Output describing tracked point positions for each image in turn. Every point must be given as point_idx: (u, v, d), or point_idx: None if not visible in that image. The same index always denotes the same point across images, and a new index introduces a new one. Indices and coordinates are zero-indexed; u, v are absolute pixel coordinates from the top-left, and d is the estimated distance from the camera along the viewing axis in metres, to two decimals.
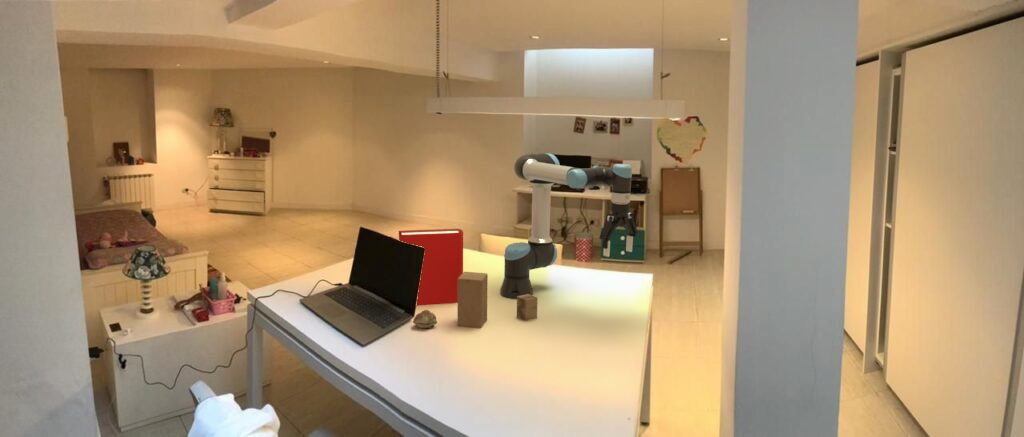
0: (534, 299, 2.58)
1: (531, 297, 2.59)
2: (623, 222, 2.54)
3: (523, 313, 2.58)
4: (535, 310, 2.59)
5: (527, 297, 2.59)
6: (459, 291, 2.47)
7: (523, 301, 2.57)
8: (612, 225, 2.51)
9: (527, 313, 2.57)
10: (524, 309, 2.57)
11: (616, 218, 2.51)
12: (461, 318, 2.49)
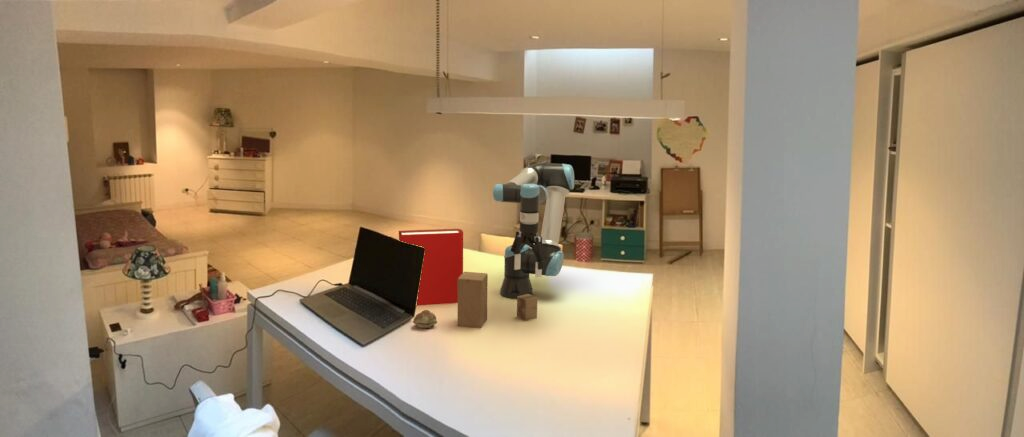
0: (535, 299, 2.58)
1: (531, 297, 2.59)
2: (528, 242, 2.53)
3: (523, 313, 2.58)
4: (535, 310, 2.59)
5: (527, 297, 2.59)
6: (459, 291, 2.47)
7: (523, 301, 2.57)
8: None
9: (527, 313, 2.57)
10: (524, 309, 2.57)
11: (521, 235, 2.56)
12: (461, 317, 2.49)
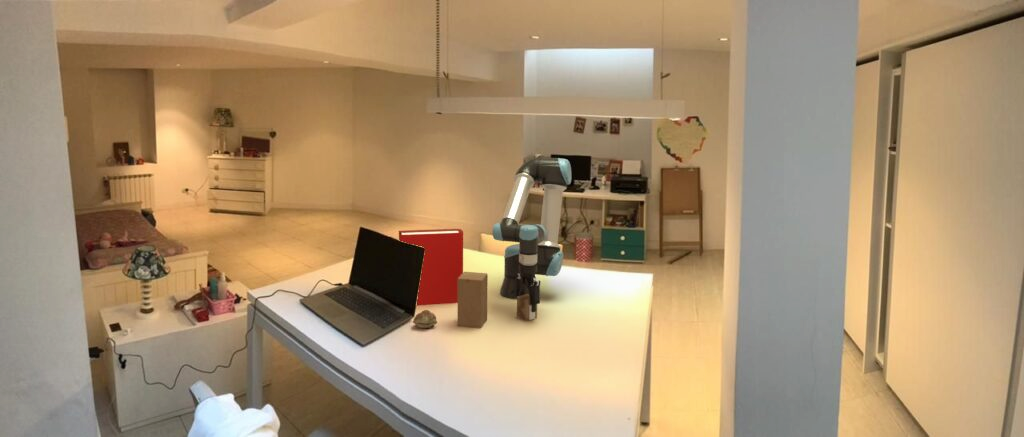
0: None
1: None
2: None
3: (523, 313, 2.58)
4: None
5: (527, 297, 2.59)
6: (459, 291, 2.47)
7: (523, 301, 2.57)
8: None
9: (527, 313, 2.57)
10: (524, 309, 2.57)
11: (521, 275, 2.59)
12: (461, 317, 2.49)
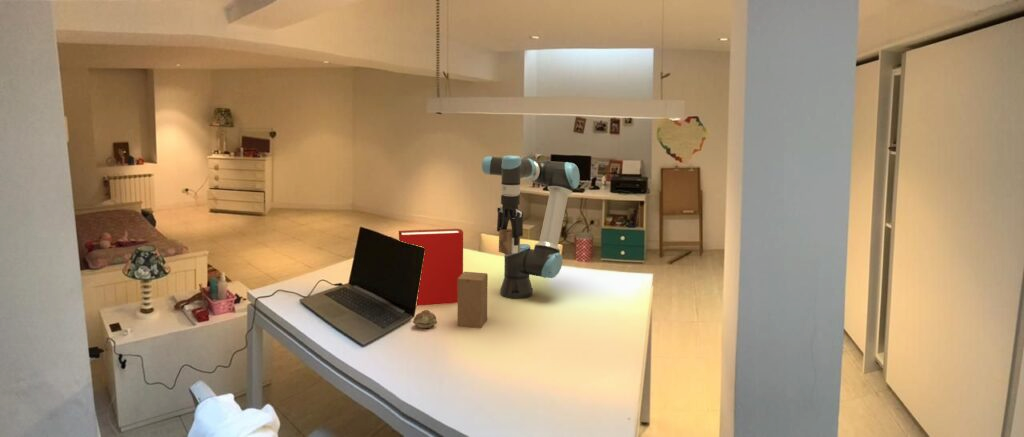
0: None
1: None
2: None
3: (505, 247, 2.49)
4: None
5: (509, 230, 2.50)
6: (459, 291, 2.47)
7: (506, 234, 2.48)
8: None
9: (509, 247, 2.48)
10: (506, 242, 2.48)
11: (503, 208, 2.51)
12: (461, 317, 2.49)
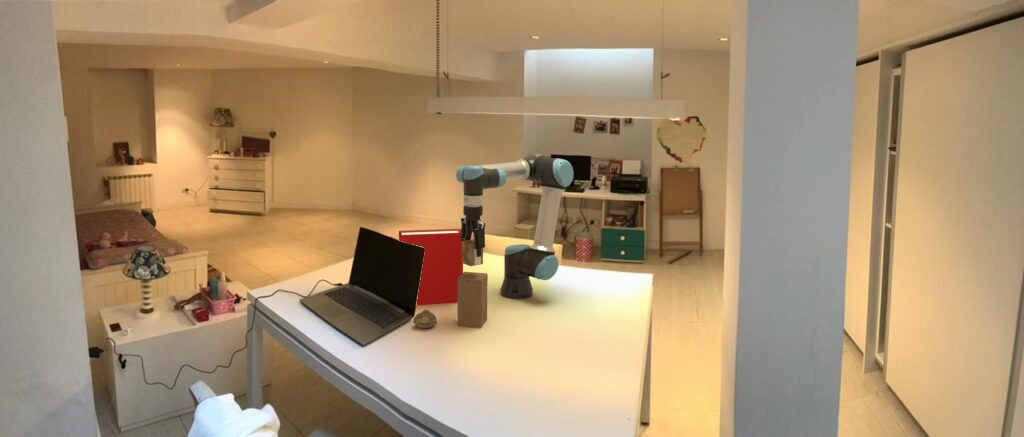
0: None
1: None
2: None
3: (468, 258, 2.45)
4: (481, 255, 2.47)
5: (472, 241, 2.46)
6: (459, 291, 2.47)
7: (468, 245, 2.44)
8: None
9: (472, 258, 2.45)
10: (469, 254, 2.44)
11: (466, 219, 2.47)
12: (461, 317, 2.49)
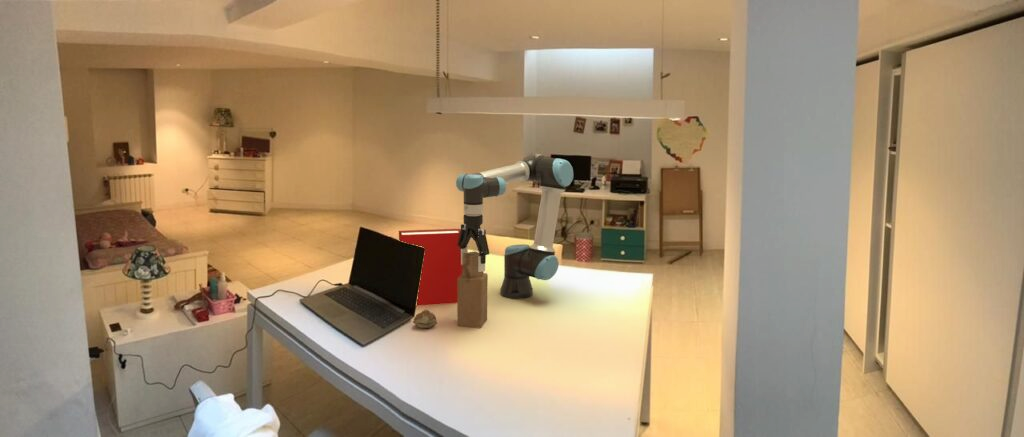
0: None
1: (477, 254, 2.47)
2: None
3: (468, 271, 2.46)
4: None
5: (473, 254, 2.47)
6: (459, 291, 2.47)
7: (468, 257, 2.45)
8: None
9: (472, 271, 2.45)
10: (469, 266, 2.45)
11: (466, 228, 2.48)
12: (461, 318, 2.49)
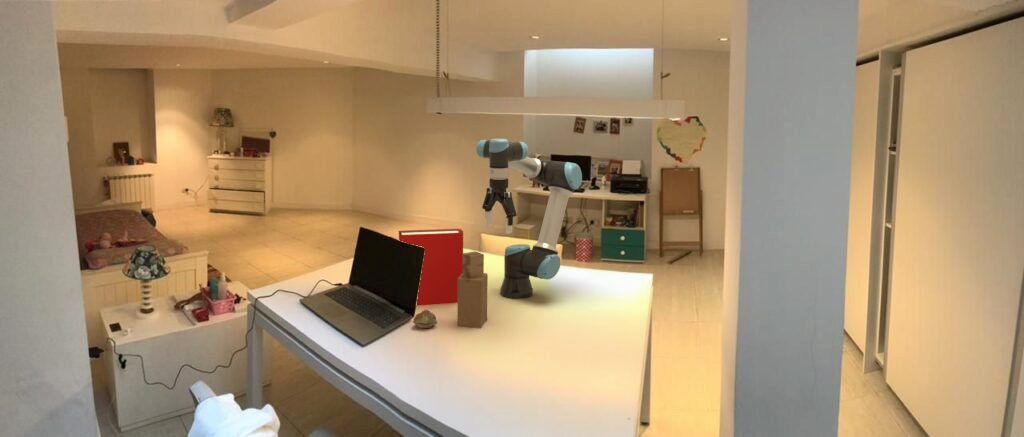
0: (481, 256, 2.47)
1: (477, 254, 2.47)
2: None
3: (468, 271, 2.46)
4: (481, 268, 2.48)
5: (473, 254, 2.47)
6: (459, 291, 2.47)
7: (468, 257, 2.45)
8: None
9: (472, 270, 2.46)
10: (469, 266, 2.45)
11: (492, 192, 2.52)
12: (461, 317, 2.49)
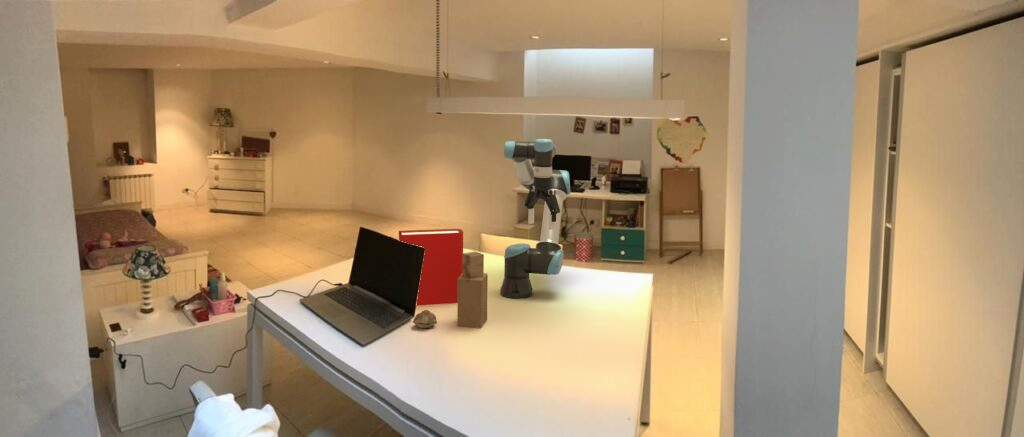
0: (480, 256, 2.47)
1: (477, 254, 2.47)
2: (541, 196, 2.60)
3: (468, 271, 2.46)
4: (481, 268, 2.48)
5: (473, 254, 2.47)
6: (459, 291, 2.47)
7: (468, 257, 2.45)
8: None
9: (472, 270, 2.45)
10: (469, 266, 2.45)
11: (535, 189, 2.63)
12: (461, 318, 2.49)
